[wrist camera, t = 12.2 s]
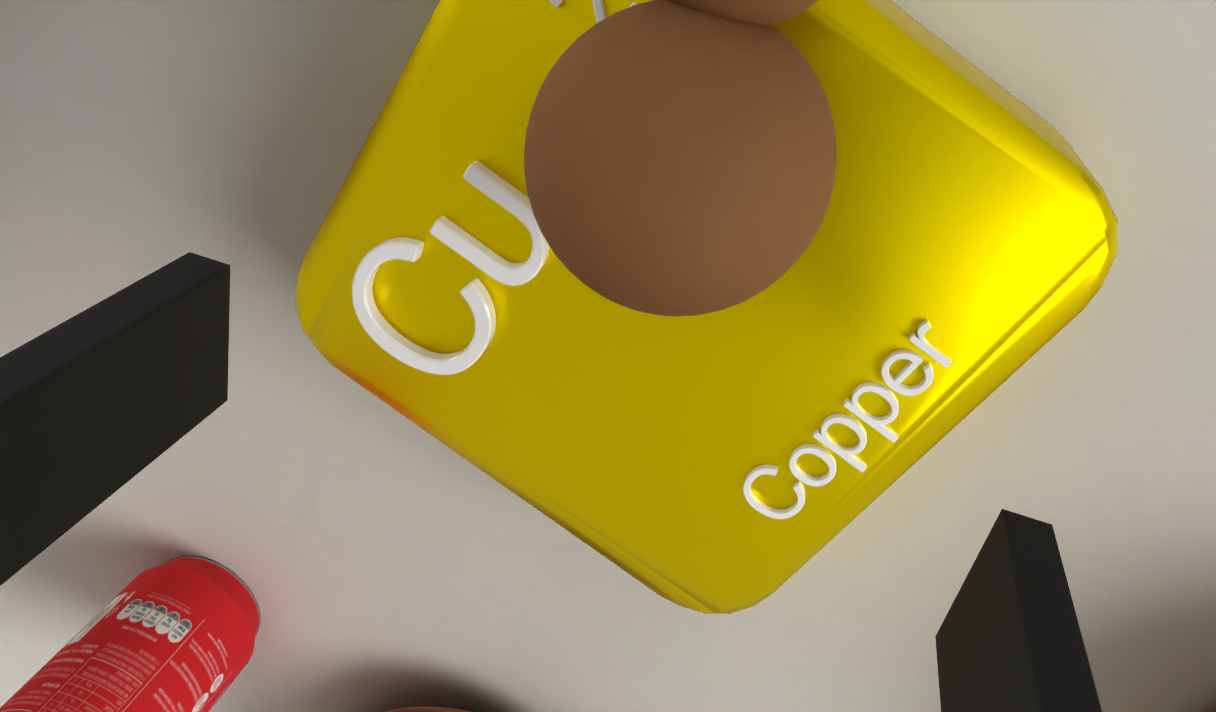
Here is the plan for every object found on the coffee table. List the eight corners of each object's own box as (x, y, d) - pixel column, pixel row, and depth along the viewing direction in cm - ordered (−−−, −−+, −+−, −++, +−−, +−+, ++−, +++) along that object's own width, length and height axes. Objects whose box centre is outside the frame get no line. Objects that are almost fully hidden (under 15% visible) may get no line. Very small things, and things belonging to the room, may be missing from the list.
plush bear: (538, 230, 21) (640, -266, 18) (785, 297, 21) (942, -197, 17) (458, 310, 16) (577, -365, 13) (782, 401, 16) (1005, -270, 12)
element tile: (739, 550, 30) (719, 658, 26) (342, 267, 29) (254, 332, 25) (1121, 177, 23) (1178, 245, 19) (611, -218, 22) (551, -239, 18)
